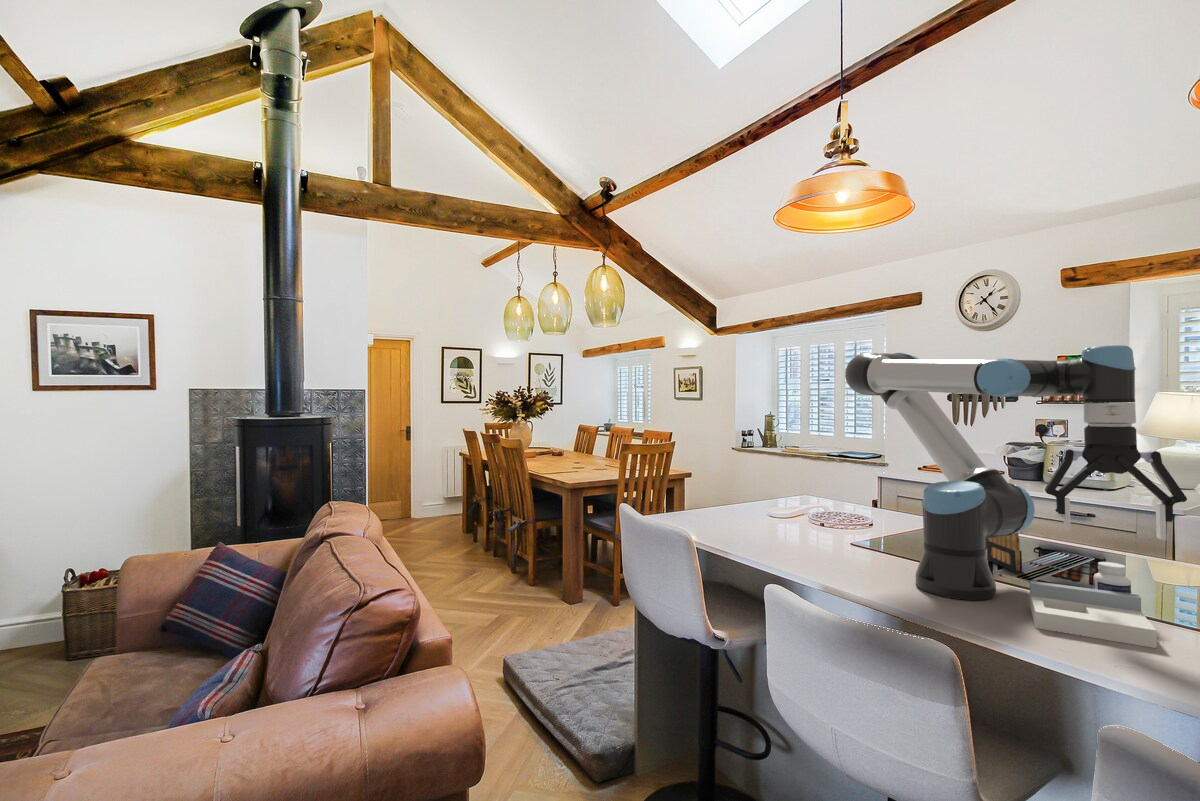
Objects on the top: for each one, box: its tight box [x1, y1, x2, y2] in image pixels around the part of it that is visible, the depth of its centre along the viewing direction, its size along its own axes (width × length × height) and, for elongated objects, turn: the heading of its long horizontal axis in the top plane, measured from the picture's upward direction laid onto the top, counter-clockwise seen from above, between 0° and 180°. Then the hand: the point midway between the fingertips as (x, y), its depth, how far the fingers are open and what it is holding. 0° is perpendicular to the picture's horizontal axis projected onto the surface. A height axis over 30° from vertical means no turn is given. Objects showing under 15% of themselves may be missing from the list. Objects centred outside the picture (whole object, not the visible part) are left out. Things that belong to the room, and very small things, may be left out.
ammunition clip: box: [986, 533, 1023, 573], centre depth 142 cm, size 11×2×12 cm, turn 177°
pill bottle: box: [1093, 561, 1132, 594], centre depth 109 cm, size 5×5×10 cm
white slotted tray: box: [1029, 580, 1157, 649], centre depth 103 cm, size 16×12×6 cm
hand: (1112, 534), depth 109 cm, fingers open, 13 cm apart
